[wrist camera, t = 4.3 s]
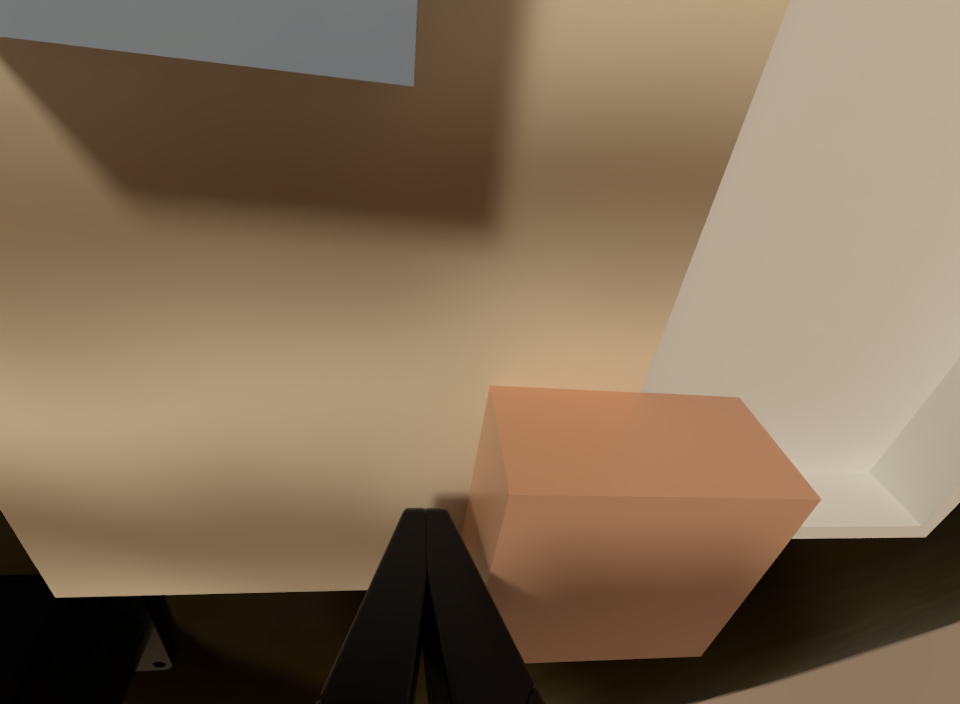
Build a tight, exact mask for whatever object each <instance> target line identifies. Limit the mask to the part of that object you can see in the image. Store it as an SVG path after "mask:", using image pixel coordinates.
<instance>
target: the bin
mask: <svg viewBox="0 0 960 704" xmlns="http://www.w3.org/2000/svg"><path fill="white" fill-rule="evenodd" d="M641 392H642V393H662V394H682V395H702V396H722V397H739V398H740V399H741V400H742V401H743V403H744V404H745V405H746V406H747V408H748V409H749V410H750V411H751V412H752V414H753V415H754V416H755V417H756V419H757V420H758V421H759V422H760V424H761V425H762V426H763V427H764V429H765V430H766V431H767V432H768V434H769V435H770V436H771V437H772V439H773V440H774V441H775V442H776V444H777V445H778V446H779V447H780V448H781V450H782V451H783V452H784V453H785V455H786V456H787V457H788V458H789V460H790V461H791V462H792V463H793V465H794V466H795V467H796V468H797V470H798V471H799V472H800V473H801V475H802V476H803V477H804V478H805V480H806V481H807V482H808V483H809V484H810V486H811V487H812V488H813V489H814V491H815V492H816V493H817V494H818V496H819V497H820V498H821V499H822V500H821V501H820V502H819V503H818V505H817V506H816V507H815V509H814V510H813V511H812V513H811V514H810V515H809V516H808V518H807V519H806V520H805V522H804V523H803V524H802V526H801V527H800V528H799V529H798V531H797V532H796V533H795V535H794V536H793V537H792V539H810V538H897V537H926V536H927V535H928V534H929V533H930V532H931V531H932V530H933V529H934V528H935V527H936V526H937V525H938V524H939V523H940V522H941V521H942V520H943V519H944V518H945V517H946V516H947V515H948V514H949V513H950V512H951V511H952V510H953V509H954V508H955V507H956V506H957V505H958V504H959V503H960V0H790V2H789V5H788V7H787V10H786V13H785V15H784V18H783V20H782V23H781V26H780V28H779V31H778V34H777V36H776V39H775V41H774V44H773V47H772V49H771V52H770V55H769V57H768V60H767V62H766V65H765V68H764V70H763V73H762V75H761V78H760V81H759V83H758V86H757V89H756V91H755V94H754V96H753V99H752V102H751V104H750V107H749V110H748V112H747V115H746V117H745V120H744V123H743V125H742V128H741V131H740V133H739V136H738V138H737V141H736V144H735V146H734V149H733V152H732V154H731V157H730V159H729V162H728V165H727V167H726V170H725V173H724V175H723V178H722V180H721V183H720V186H719V188H718V191H717V194H716V196H715V199H714V201H713V204H712V207H711V209H710V212H709V215H708V217H707V220H706V222H705V225H704V228H703V230H702V233H701V235H700V238H699V241H698V243H697V246H696V249H695V251H694V254H693V256H692V259H691V262H690V264H689V267H688V270H687V272H686V275H685V277H684V280H683V283H682V285H681V288H680V291H679V293H678V296H677V298H676V301H675V304H674V306H673V309H672V312H671V314H670V317H669V319H668V322H667V325H666V327H665V330H664V333H663V335H662V338H661V340H660V343H659V346H658V348H657V351H656V354H655V356H654V359H653V361H652V364H651V367H650V369H649V372H648V375H647V377H646V380H645V382H644V385H643V388H642V390H641Z"/></svg>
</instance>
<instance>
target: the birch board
mask: <svg viewBox="0 0 960 704" xmlns="http://www.w3.org/2000/svg"><path fill="white" fill-rule="evenodd" d="M789 2H790V0H418V12H417V35H416V58H415V73H414V87H413V86H404V85H396V84H388V83H380V82H371V81H363V80H355V79H346V78H338V77H330V76H322V75H313V74H305V73H297V72H289V71H280V70H272V69H264V68H256V67H247V66H239V65H231V64H222V63H214V62H206V61H198V60H189V59H181V58H173V57H165V56H156V55H148V54H140V53H132V52H123V51H115V50H107V49H98V48H90V47H82V46H74V45H65V44H57V43H49V42H41V41H32V40H24V39H16V38H8V37H0V510H1V511H2V513H3V515H4V516H5V518H6V519H7V521H8V523H9V524H10V526H11V527H12V529H13V531H14V532H15V534H16V535H17V537H18V539H19V540H20V542H21V543H22V545H23V547H24V548H25V550H26V551H27V553H28V555H29V556H30V558H31V559H32V561H33V563H34V564H35V566H36V567H37V569H38V571H39V572H40V574H41V576H42V577H43V579H44V580H45V582H46V584H47V585H48V587H49V588H50V590H51V592H52V593H53V595H54V596H55V598H63V597H103V596H143V595H184V594H224V593H264V592H304V591H344V590H368V588H369V585H370V583H371V581H372V579H373V577H374V574H375V572H376V570H377V568H378V565H379V563H380V561H381V559H382V557H383V554H384V552H385V550H386V548H387V546H388V543H389V541H390V539H391V537H392V535H393V532H394V530H395V528H396V526H397V523H398V521H399V519H400V517H401V515H402V513H403V511H404V510H405V509H406V508H425V509H426V508H446V509H447V510H448V512H449V513H450V515H451V517H452V519H453V521H454V523H455V525H456V527H457V529H458V531H459V533H460V535H461V534H462V529H463V523H464V518H465V513H466V507H467V502H468V497H469V492H470V486H471V481H472V476H473V471H474V465H475V460H476V455H477V449H478V444H479V439H480V434H481V428H482V423H483V418H484V413H485V407H486V402H487V397H488V392H489V386H490V385H494V386H514V387H534V388H554V389H574V390H595V391H615V392H635V393H641V390H642V388H643V385H644V382H645V380H646V377H647V375H648V372H649V369H650V367H651V364H652V361H653V359H654V356H655V354H656V351H657V348H658V346H659V343H660V340H661V338H662V335H663V333H664V330H665V327H666V325H667V322H668V319H669V317H670V314H671V312H672V309H673V306H674V304H675V301H676V298H677V296H678V293H679V291H680V288H681V285H682V283H683V280H684V277H685V275H686V272H687V270H688V267H689V264H690V262H691V259H692V256H693V254H694V251H695V249H696V246H697V243H698V241H699V238H700V235H701V233H702V230H703V228H704V225H705V222H706V220H707V217H708V215H709V212H710V209H711V207H712V204H713V201H714V199H715V196H716V194H717V191H718V188H719V186H720V183H721V180H722V178H723V175H724V173H725V170H726V167H727V165H728V162H729V159H730V157H731V154H732V152H733V149H734V146H735V144H736V141H737V138H738V136H739V133H740V131H741V128H742V125H743V123H744V120H745V117H746V115H747V112H748V110H749V107H750V104H751V102H752V99H753V96H754V94H755V91H756V89H757V86H758V83H759V81H760V78H761V75H762V73H763V70H764V68H765V65H766V62H767V60H768V57H769V55H770V52H771V49H772V47H773V44H774V41H775V39H776V36H777V34H778V31H779V28H780V26H781V23H782V20H783V18H784V15H785V13H786V10H787V7H788V5H789Z"/></svg>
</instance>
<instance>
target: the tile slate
mask: <svg viewBox="0 0 960 704" xmlns="http://www.w3.org/2000/svg"><path fill="white" fill-rule="evenodd" d="M417 12H418V0H0V37H8V38H16V39H24V40H32V41H41V42H49V43H57V44H65V45H74V46H82V47H90V48H98V49H107V50H115V51H123V52H132V53H140V54H148V55H156V56H165V57H173V58H181V59H189V60H198V61H206V62H214V63H222V64H231V65H239V66H247V67H256V68H264V69H272V70H280V71H289V72H297V73H305V74H313V75H322V76H330V77H338V78H346V79H355V80H363V81H371V82H380V83H388V84H396V85H404V86H413V87H414V73H415V58H416V35H417Z"/></svg>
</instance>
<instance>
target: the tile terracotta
mask: <svg viewBox="0 0 960 704" xmlns="http://www.w3.org/2000/svg"><path fill="white" fill-rule="evenodd" d="M821 500H822V499H821V498H820V497H819V496H818V494H817V493H816V492H815V491H814V489H813V488H812V487H811V486H810V484H809V483H808V482H807V481H806V480H805V478H804V477H803V476H802V475H801V473H800V472H799V471H798V470H797V468H796V467H795V466H794V465H793V463H792V462H791V461H790V460H789V458H788V457H787V456H786V455H785V453H784V452H783V451H782V450H781V448H780V447H779V446H778V445H777V444H776V442H775V441H774V440H773V439H772V437H771V436H770V435H769V434H768V432H767V431H766V430H765V429H764V427H763V426H762V425H761V424H760V422H759V421H758V420H757V419H756V417H755V416H754V415H753V414H752V412H751V411H750V410H749V409H748V408H747V406H746V405H745V404H744V403H743V401H742V400H741V399H740V398H739V397H722V396H702V395H682V394H662V393H642V392H641V393H635V392H615V391H595V390H574V389H554V388H534V387H514V386H494V385H490V386H489V392H488V397H487V402H486V407H485V413H484V418H483V423H482V428H481V434H480V439H479V444H478V449H477V455H476V460H475V465H474V471H473V476H472V481H471V486H470V492H469V497H468V502H467V507H466V513H465V518H464V523H463V529H462V534H461V537H462V539H463V541H464V543H465V545H466V547H467V549H468V551H469V553H470V555H471V557H472V559H473V561H474V563H475V565H476V567H477V569H478V571H479V573H480V575H481V577H482V579H483V581H484V583H485V585H486V587H487V589H488V591H489V593H490V595H491V597H492V599H493V601H494V603H495V605H496V607H497V609H498V611H499V613H500V615H501V617H502V619H503V621H504V623H505V625H506V627H507V629H508V631H509V633H510V635H511V637H512V639H513V641H514V643H515V645H516V647H517V648H518V650H519V652H520V654H521V656H522V658H523V660H524V662H525V663H545V662H571V661H596V660H622V659H648V658H674V657H699V656H702V654H703V653H704V652H705V650H706V649H707V648H708V646H709V645H710V644H711V643H712V641H713V640H714V639H715V637H716V636H717V635H718V633H719V632H720V631H721V630H722V628H723V627H724V626H725V624H726V623H727V622H728V620H729V619H730V618H731V617H732V615H733V614H734V613H735V611H736V610H737V609H738V607H739V606H740V605H741V604H742V602H743V601H744V600H745V598H746V597H747V596H748V594H749V593H750V592H751V591H752V589H753V588H754V587H755V585H756V584H757V583H758V581H759V580H760V579H761V578H762V576H763V575H764V574H765V572H766V571H767V570H768V568H769V567H770V566H771V565H772V563H773V562H774V561H775V559H776V558H777V557H778V555H779V554H780V553H781V552H782V550H783V549H784V548H785V546H786V545H787V544H788V542H789V541H790V540H791V539H792V537H793V536H794V535H795V533H796V532H797V531H798V529H799V528H800V527H801V526H802V524H803V523H804V522H805V520H806V519H807V518H808V516H809V515H810V514H811V513H812V511H813V510H814V509H815V507H816V506H817V505H818V503H819V502H820V501H821Z"/></svg>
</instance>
